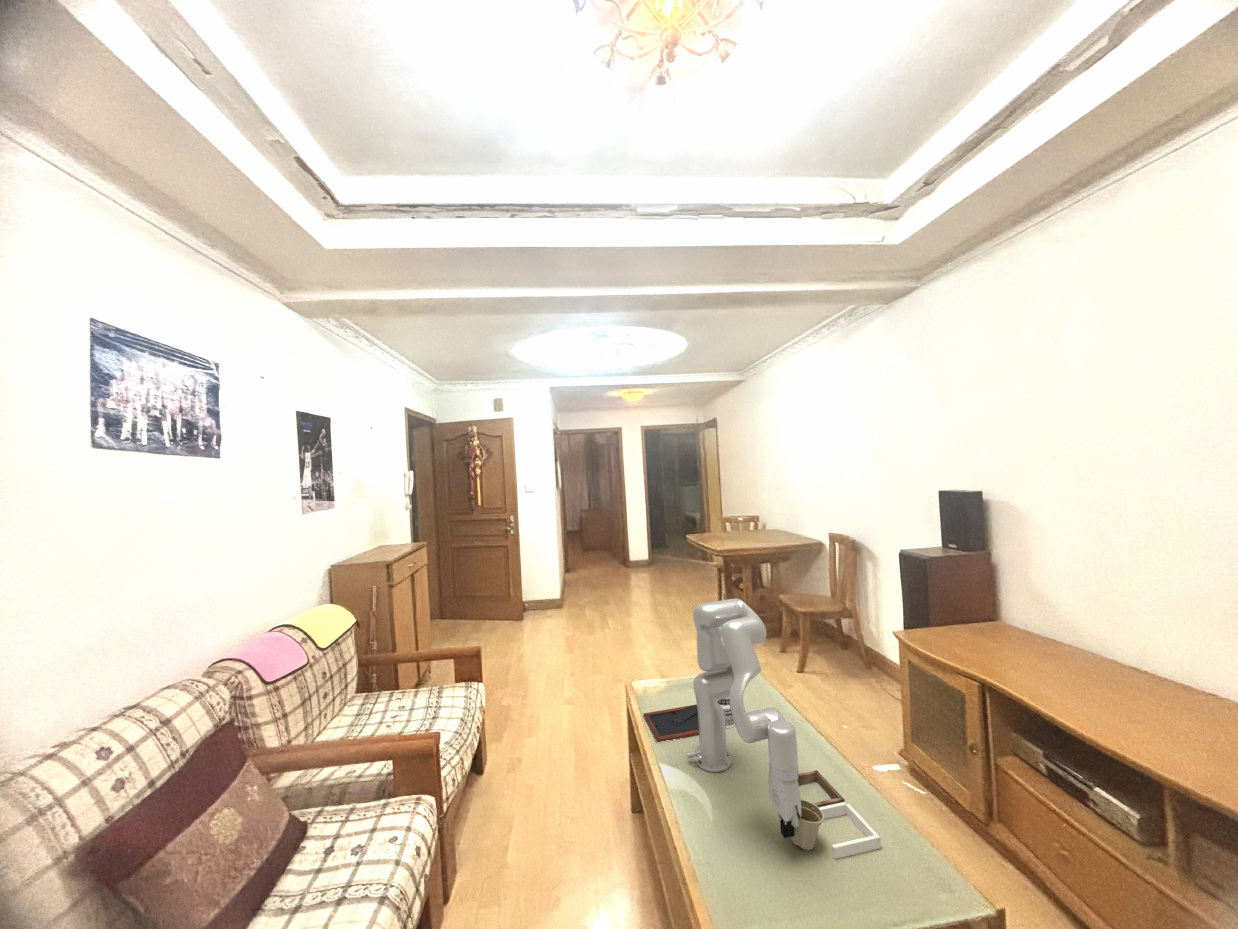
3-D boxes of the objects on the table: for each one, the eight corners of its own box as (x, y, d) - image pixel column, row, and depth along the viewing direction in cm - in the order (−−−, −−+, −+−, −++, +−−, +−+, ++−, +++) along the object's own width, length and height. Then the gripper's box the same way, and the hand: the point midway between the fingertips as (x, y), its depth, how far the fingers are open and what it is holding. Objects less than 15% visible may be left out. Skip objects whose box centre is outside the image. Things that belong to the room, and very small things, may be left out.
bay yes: (834, 859, 128) (834, 848, 128) (804, 820, 142) (804, 810, 142) (880, 848, 131) (880, 837, 131) (847, 811, 144) (846, 801, 144)
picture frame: (699, 708, 209) (643, 717, 204) (698, 703, 209) (643, 712, 204) (718, 733, 190) (657, 744, 184) (717, 728, 189) (656, 739, 184)
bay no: (802, 818, 143) (802, 808, 143) (778, 787, 157) (778, 778, 157) (844, 809, 145) (844, 799, 145) (817, 779, 159) (816, 770, 159)
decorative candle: (709, 720, 198) (706, 659, 198) (728, 714, 202) (724, 654, 201) (722, 731, 190) (719, 668, 189) (741, 724, 193) (738, 663, 193)
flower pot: (805, 859, 127) (808, 826, 127) (777, 834, 135) (780, 803, 136) (828, 848, 132) (831, 817, 132) (799, 825, 140) (802, 795, 140)
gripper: (758, 755, 139) (762, 818, 140) (785, 789, 125) (789, 859, 125) (782, 751, 141) (785, 813, 141) (811, 784, 126) (815, 854, 126)
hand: (787, 835), depth 133 cm, fingers closed
